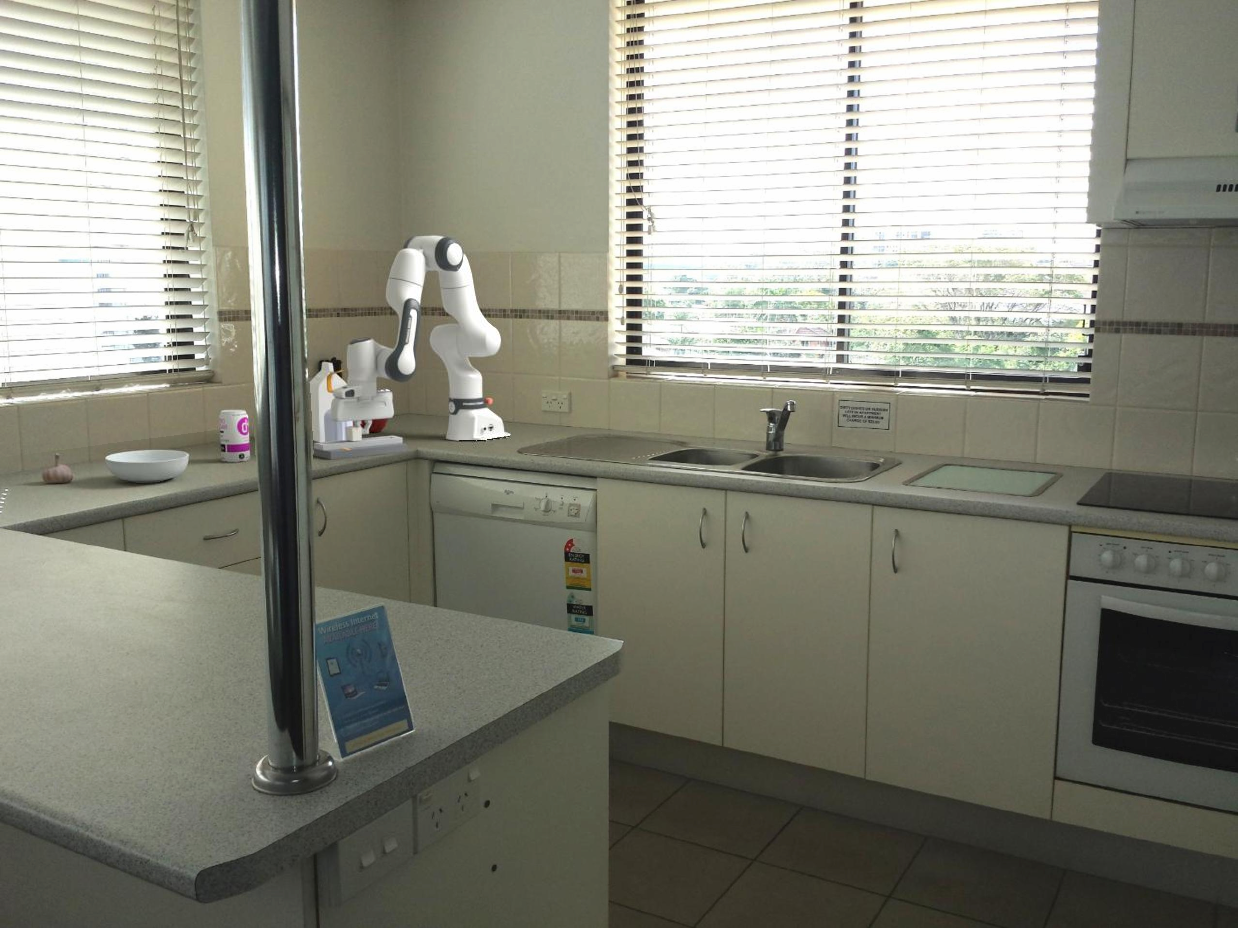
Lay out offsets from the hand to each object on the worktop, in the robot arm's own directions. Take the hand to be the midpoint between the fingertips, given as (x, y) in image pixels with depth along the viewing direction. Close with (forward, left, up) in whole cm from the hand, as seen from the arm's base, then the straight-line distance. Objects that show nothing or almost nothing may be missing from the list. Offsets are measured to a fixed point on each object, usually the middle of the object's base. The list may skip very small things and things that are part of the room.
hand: (363, 434), depth 355 cm
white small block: (+3, 0, -3) cm, 5 cm away
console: (+1, 0, -6) cm, 6 cm away
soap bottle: (-2, -20, -6) cm, 21 cm away
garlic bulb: (+88, -2, -6) cm, 89 cm away
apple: (-26, -42, -6) cm, 50 cm away
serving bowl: (+68, +9, -6) cm, 69 cm away
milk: (-6, -35, -6) cm, 36 cm away
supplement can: (+37, -9, -6) cm, 39 cm away
